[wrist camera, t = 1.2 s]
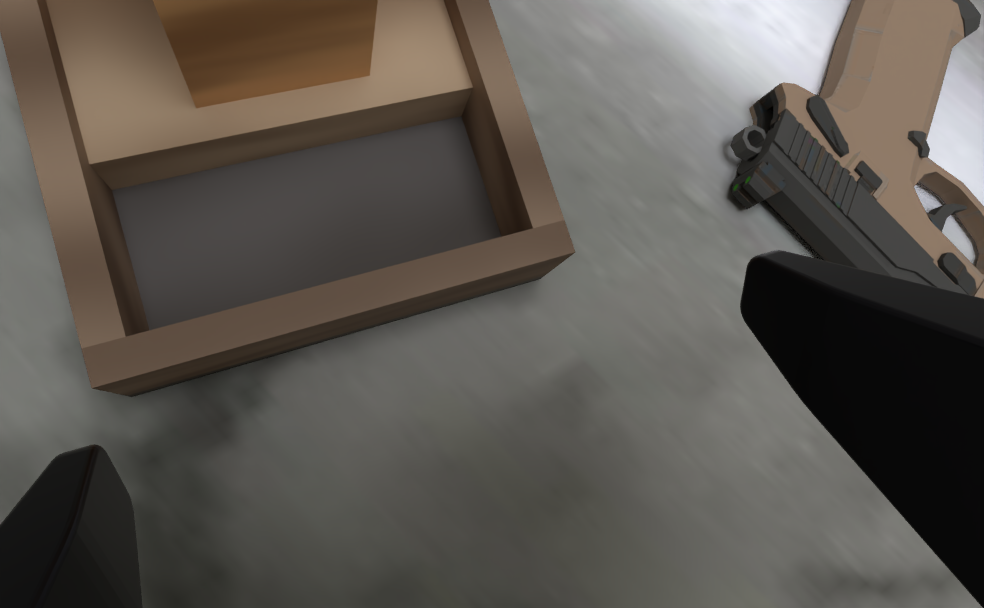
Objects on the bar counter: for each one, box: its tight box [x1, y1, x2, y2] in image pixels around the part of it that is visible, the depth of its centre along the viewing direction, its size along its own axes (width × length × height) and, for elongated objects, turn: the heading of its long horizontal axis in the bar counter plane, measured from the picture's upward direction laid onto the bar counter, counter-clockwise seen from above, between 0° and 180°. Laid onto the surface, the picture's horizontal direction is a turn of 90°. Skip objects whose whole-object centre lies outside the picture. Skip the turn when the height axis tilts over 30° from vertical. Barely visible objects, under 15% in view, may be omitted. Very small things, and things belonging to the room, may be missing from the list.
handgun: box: [731, 0, 984, 298], centre depth 27 cm, size 19×3×14 cm
